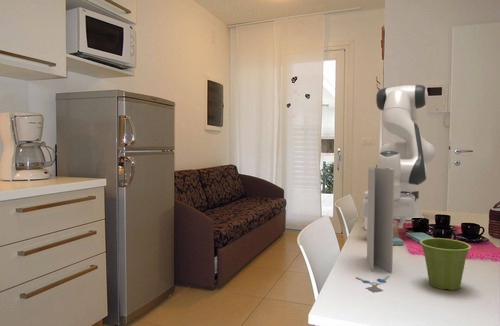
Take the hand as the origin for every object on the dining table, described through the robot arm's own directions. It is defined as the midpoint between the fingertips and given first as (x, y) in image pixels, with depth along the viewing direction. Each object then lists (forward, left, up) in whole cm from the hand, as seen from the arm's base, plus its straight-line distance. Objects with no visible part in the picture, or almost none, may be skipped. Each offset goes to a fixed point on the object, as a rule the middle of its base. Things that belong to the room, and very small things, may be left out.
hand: (387, 228), depth 143 cm
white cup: (-19, +1, -5) cm, 19 cm away
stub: (0, 0, -5) cm, 5 cm away
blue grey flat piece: (+44, -22, -5) cm, 49 cm away
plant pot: (+46, -3, -5) cm, 47 cm away
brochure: (+29, -14, -5) cm, 33 cm away
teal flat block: (0, +14, -5) cm, 15 cm away
